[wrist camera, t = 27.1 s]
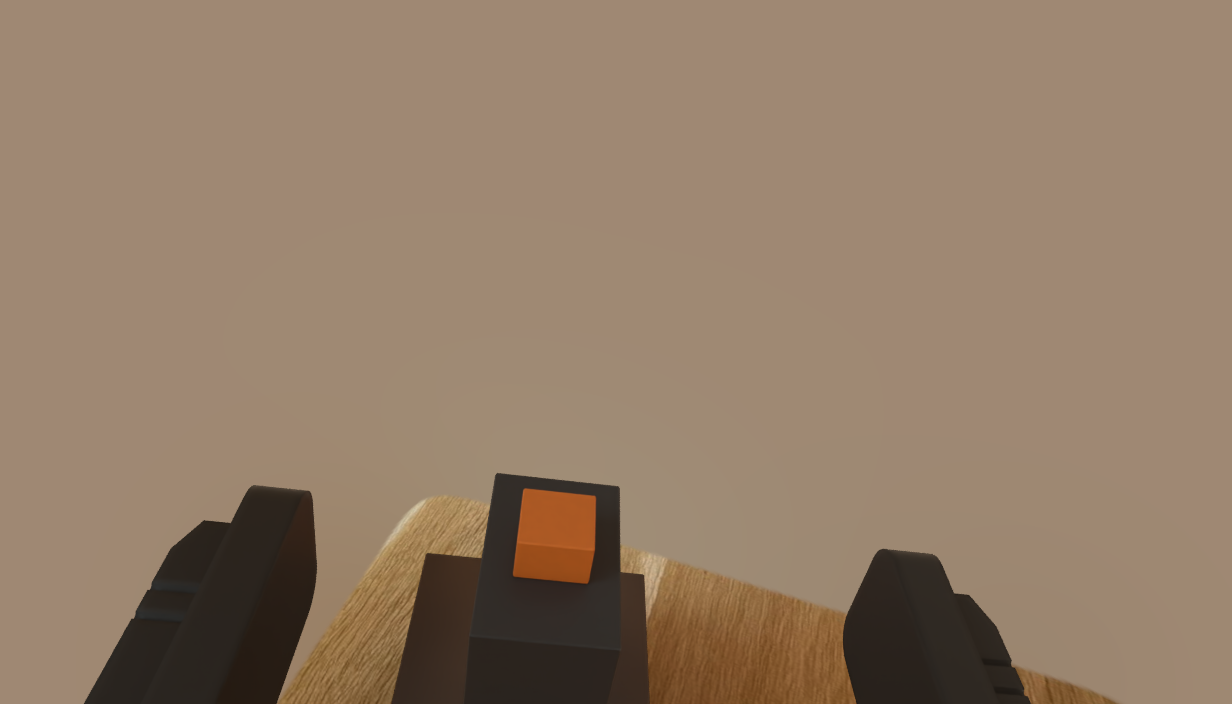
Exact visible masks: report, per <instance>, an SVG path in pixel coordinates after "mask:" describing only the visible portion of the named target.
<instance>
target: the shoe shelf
mask: <svg viewBox="0 0 1232 704" xmlns="http://www.w3.org/2000/svg"><path fill="white" fill-rule="evenodd" d="M481 560H482V558H472V557H462V556H452V555H441V554H431V553H427V554H426V557H425V561H424V565H423V570H422V574H421V578H420V582H419V587H418V591H417V595H416V600H415V604H414V608H413V613H412V617H411V621H410V625H409V630H408V634H407V638H406V643H405V647H404V651H403V655H402V660H401V664H400V668H399V673H398V677H397V681H396V686H395V690H394V694H393V698H392V703H391V704H463V699H464V688H465V677H466V665H467V654H468V642H469V633H470V627H471V621H472V615H473V608H474V602H475V596H476V590H477V584H478V578H479V572H480V566H481ZM620 576H621V652H620V657H619V661H618V665H617V669H616V673H615V677H614V681H613V685H612V689H611V693H610V697H609V701H608V704H650V701H649V677H648V654H647V630H646V606H645V583H644V575H643V574H633V573H623V572H620Z"/></svg>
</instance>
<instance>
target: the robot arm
mask: <svg viewBox="0 0 1232 704" xmlns="http://www.w3.org/2000/svg"><path fill="white" fill-rule="evenodd" d="M316 574H317V560H316V545H315V529H314V515H313V500H312V495H311V493H310V491H304V490H294V489H284V488H275V487H266V486H256V485H253V486H251V487H250V488H249V489H248V491H247V493H246V494H245V496H244V498H243V500H242V502H241V504H240V506H239V508H238V510H237V512H236V514H235V516H234V518H233V520H232V522H231V523H225V522H214V521H205V520H204V521H203V522H201V524H199V525H198V526H197V527H196V528H194V529H193V530H192V531H191V532H190V533H189V534H187V535H186V536H185V537H184V538H183V539H182V540H181V541H179V542H178V543H177V544H176V545H174V546H173V547H172V548H171V549H170V551H169V553H168V555H167V556H166V558H165V560H164V562H163V564H162V565H161V567H160V569H159V571H158V572H157V574H156V576H155V578H154V580H153V581H152V586H151V589H150V590H147V592H146V594H145V596H144V597H143V599H142V601H141V603H140V605H139V606H138V608H137V610H136V615H135V618H134V619H131V621H130V623H129V624H128V626H127V628H126V630H125V631H124V633H123V635H122V637H121V638H120V640H119V642H118V644H117V646H116V647H115V649H114V651H113V653H112V655H111V656H110V658H109V660H108V662H107V663H106V665H105V667H104V669H103V671H102V673H101V674H100V676H99V678H98V680H97V681H96V683H95V685H94V687H93V688H92V690H91V692H90V694H89V696H88V697H87V699H86V701H85V703H84V704H277V701H278V698H279V695H280V692H281V690H282V686H283V684H284V681H285V678H286V675H287V672H288V669H289V667H290V664H291V661H292V658H293V656H294V653H295V650H296V647H297V644H298V642H299V639H300V636H301V633H302V630H303V628H304V625H305V622H306V619H307V616H308V613H309V610H310V607H311V603H312V599H313V594H314V590H315V583H316ZM843 649H844V656H845V661H846V665H847V669H848V672H849V676H850V680H851V684H852V688H853V691H854V695H855V699H856V703H857V704H1031V703H1030V701H1029V698H1028V696H1025V695H1024V687H1023V685H1022V683H1021V680H1020V678H1019V676H1018V674H1017V672H1016V669H1015V668H1013V667H1012V666H1011V661H1012V660H1011V658H1010V656H1009V654H1008V652H1007V649H1006V647H1005V645H1004V643H1003V640H1002V638H1001V636H1000V634H999V631H998V629H997V627H996V626H995V624H994V623H993V622H992V621H991V620H990V619H989V618H988V616H986V614H985V613H984V612H983V611H982V609H981V608H980V607H979V606H978V605H977V604H976V603H975V601H974V600H973V599H972V598H971V597H970V596H969V595H964V594H954V592H953V590H952V588H951V586H950V583H949V580H948V578H947V576H946V574H945V571H944V568H943V566H942V564H941V562H940V560H939V559H938V558H937V557H936V556H935V555H933V554H926V553H917V552H907V551H897V550H888V549H881V550H879V551H878V552H877V553H876V555H875V556H874V558H873V560H872V562H871V564H870V567H869V569H868V571H867V573H866V575H865V577H864V579H863V582H862V584H861V586H860V588H859V590H858V592H857V594H856V596H855V599H854V601H853V603H852V605H851V607H850V609H849V611H848V614H847V616H846V620H845V624H844V631H843Z"/></svg>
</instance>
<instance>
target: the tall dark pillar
mask: <svg viewBox="0 0 1232 704" xmlns="http://www.w3.org/2000/svg"><path fill="white" fill-rule="evenodd" d="M620 652H621V576H620V488H619V487H618V486H610V485H601V484H592V483H583V482H574V481H564V480H555V479H546V478H537V477H528V476H518V475H509V474H501V473H497V474H496V475H495V481H494V487H493V493H492V499H491V505H490V511H489V517H488V523H487V529H486V535H485V542H484V548H483V554H482V560H481V566H480V572H479V578H478V584H477V590H476V596H475V602H474V608H473V615H472V621H471V627H470V633H469V642H468V654H467V665H466V677H465V688H464V699H463V704H608V701H609V697H610V693H611V689H612V685H613V681H614V677H615V673H616V669H617V665H618V661H619V657H620Z"/></svg>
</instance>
